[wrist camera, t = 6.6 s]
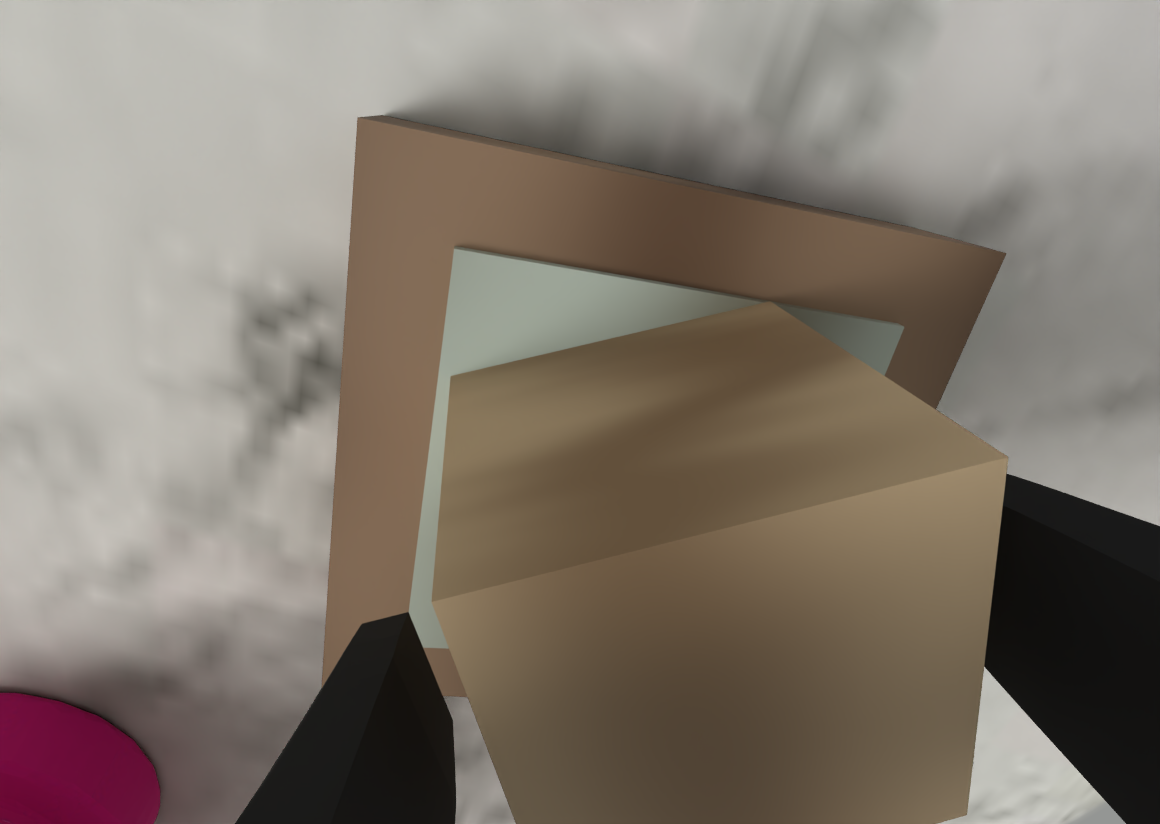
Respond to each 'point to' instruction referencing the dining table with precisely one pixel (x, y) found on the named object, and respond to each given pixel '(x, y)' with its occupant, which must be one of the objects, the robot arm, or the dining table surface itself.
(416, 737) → the robot arm
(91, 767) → the pepper mill
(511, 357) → the walnut picture frame
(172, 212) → the dining table surface
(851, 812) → the oak cube
